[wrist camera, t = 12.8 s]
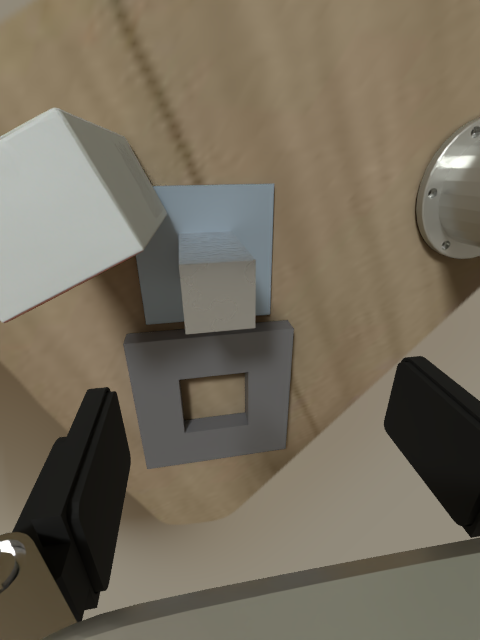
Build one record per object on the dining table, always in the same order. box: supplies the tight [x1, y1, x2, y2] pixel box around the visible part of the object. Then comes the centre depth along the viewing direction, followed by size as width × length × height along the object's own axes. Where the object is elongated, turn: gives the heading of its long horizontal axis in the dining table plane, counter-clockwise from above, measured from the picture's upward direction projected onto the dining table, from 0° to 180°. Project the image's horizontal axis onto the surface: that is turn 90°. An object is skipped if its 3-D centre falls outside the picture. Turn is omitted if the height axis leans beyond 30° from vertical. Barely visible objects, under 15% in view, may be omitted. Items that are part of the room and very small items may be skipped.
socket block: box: [123, 320, 294, 469], centre depth 34 cm, size 16×16×2 cm
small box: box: [0, 108, 167, 323], centre depth 19 cm, size 8×6×13 cm
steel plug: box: [179, 231, 256, 334], centre depth 24 cm, size 4×4×10 cm
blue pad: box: [136, 184, 274, 325], centre depth 29 cm, size 12×12×1 cm
